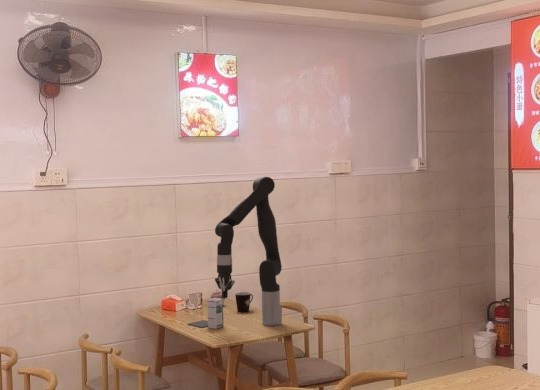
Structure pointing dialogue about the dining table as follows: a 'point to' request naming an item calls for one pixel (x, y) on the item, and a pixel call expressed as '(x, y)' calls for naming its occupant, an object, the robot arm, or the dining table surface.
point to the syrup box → (215, 313)
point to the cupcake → (217, 295)
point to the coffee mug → (243, 301)
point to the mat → (199, 324)
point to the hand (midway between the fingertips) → (224, 298)
